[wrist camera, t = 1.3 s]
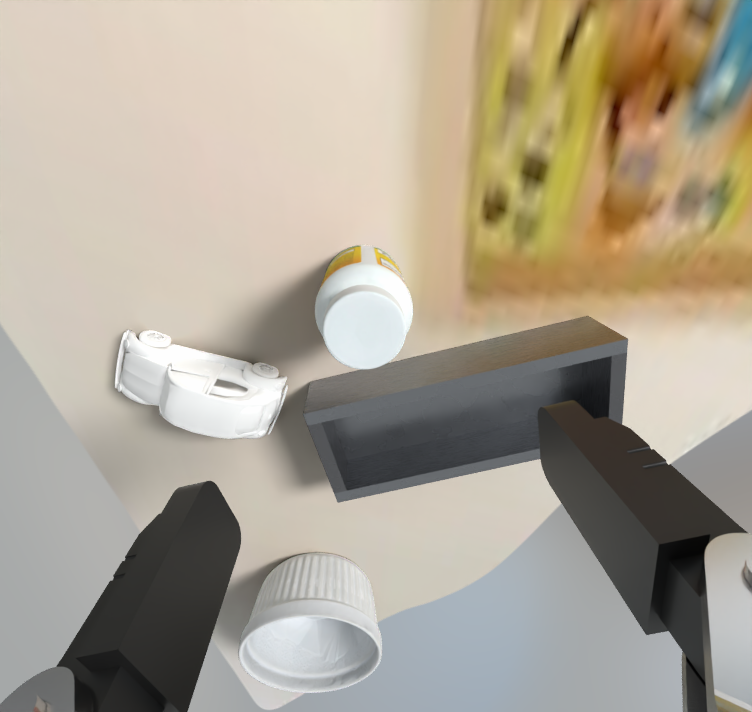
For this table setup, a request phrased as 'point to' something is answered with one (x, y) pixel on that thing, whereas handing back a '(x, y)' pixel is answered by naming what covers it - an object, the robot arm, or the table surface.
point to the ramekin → (312, 626)
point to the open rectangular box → (460, 406)
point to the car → (199, 387)
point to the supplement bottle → (363, 307)
